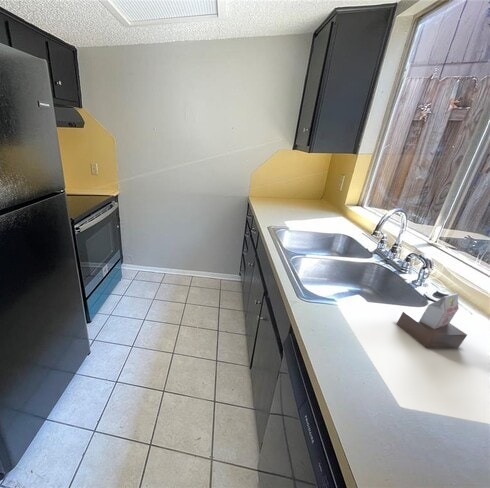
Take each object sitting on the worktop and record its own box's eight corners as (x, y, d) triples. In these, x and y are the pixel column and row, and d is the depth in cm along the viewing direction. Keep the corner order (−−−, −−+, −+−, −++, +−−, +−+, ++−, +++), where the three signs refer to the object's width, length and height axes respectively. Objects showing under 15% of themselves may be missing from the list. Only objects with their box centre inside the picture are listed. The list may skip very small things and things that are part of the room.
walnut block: (425, 323, 84) (432, 311, 82) (458, 347, 75) (467, 334, 73) (396, 323, 83) (403, 311, 81) (426, 347, 74) (434, 334, 72)
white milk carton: (419, 320, 78) (435, 293, 73) (433, 316, 80) (449, 289, 76) (434, 329, 74) (452, 300, 70) (448, 324, 76) (466, 296, 72)
